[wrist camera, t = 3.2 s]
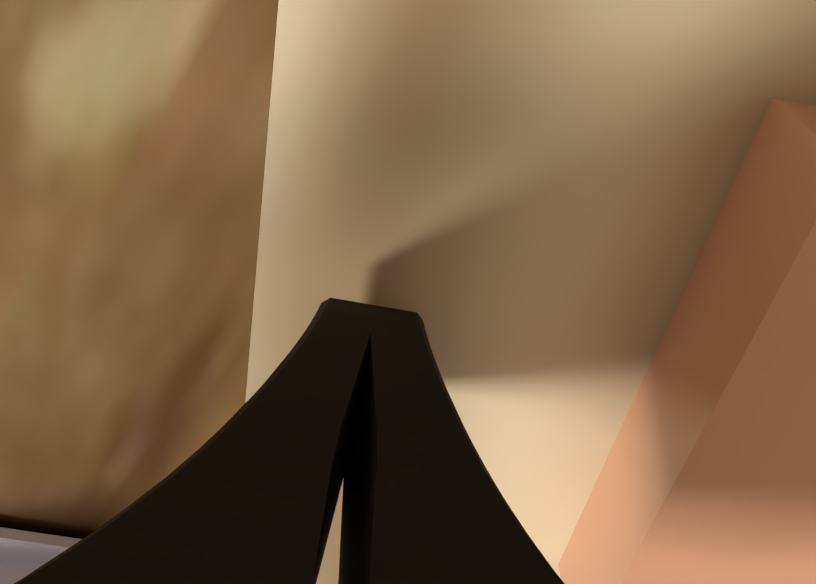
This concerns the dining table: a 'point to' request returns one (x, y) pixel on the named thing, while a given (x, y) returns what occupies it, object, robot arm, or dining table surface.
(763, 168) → the tile
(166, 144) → the dining table surface
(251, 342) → the deck
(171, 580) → the robot arm
